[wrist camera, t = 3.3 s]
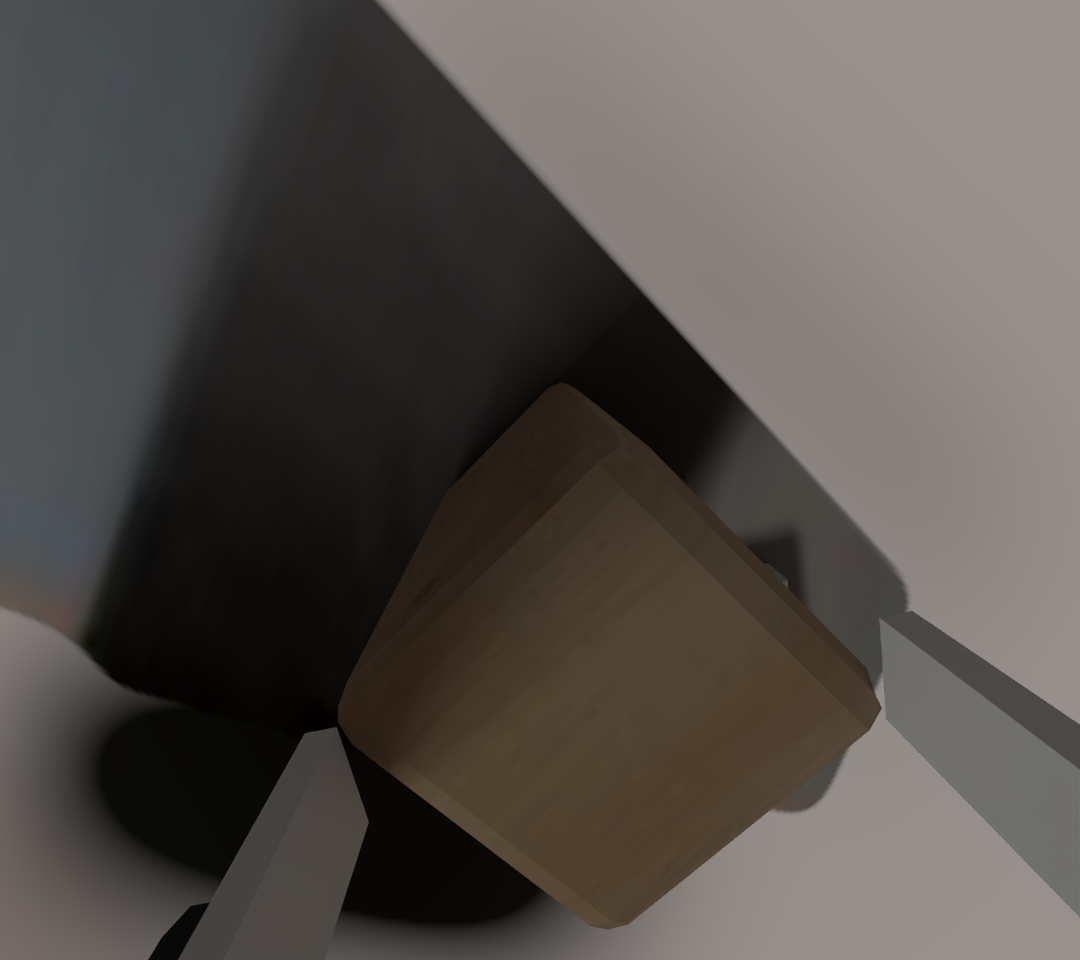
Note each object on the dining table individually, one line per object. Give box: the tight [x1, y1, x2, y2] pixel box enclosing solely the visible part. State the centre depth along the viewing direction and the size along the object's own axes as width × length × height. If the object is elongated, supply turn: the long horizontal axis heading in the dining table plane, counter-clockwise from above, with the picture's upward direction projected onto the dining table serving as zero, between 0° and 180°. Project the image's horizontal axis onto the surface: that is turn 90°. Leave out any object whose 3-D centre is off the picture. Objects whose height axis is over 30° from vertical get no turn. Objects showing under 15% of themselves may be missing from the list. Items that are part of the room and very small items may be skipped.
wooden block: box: [338, 382, 882, 929], centre depth 23 cm, size 10×10×20 cm
